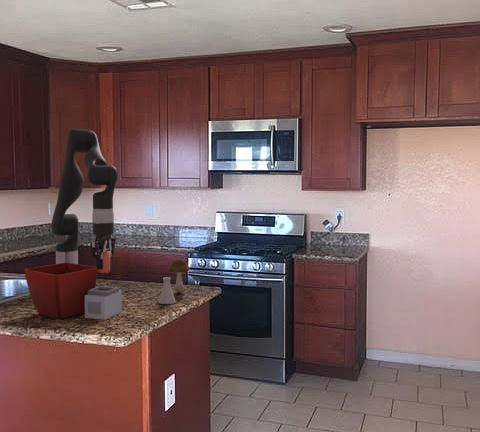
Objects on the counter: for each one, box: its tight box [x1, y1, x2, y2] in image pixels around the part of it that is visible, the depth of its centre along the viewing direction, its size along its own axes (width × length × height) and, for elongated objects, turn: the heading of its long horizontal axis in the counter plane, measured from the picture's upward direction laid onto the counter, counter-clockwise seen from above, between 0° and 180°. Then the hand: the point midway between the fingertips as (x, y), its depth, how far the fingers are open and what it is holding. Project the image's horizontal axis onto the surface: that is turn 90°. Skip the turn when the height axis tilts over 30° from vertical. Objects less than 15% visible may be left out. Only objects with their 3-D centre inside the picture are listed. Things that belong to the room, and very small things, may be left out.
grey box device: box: [84, 285, 123, 320], centre depth 207 cm, size 8×12×10 cm, turn 162°
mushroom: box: [168, 258, 191, 294], centre depth 246 cm, size 9×11×15 cm
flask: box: [157, 276, 176, 305], centre depth 227 cm, size 7×7×10 cm
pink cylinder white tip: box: [97, 249, 111, 274], centre depth 207 cm, size 5×5×8 cm
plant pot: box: [23, 263, 99, 320], centre depth 209 cm, size 19×19×17 cm
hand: (103, 268), depth 207 cm, fingers closed on pink cylinder white tip, 4 cm apart
